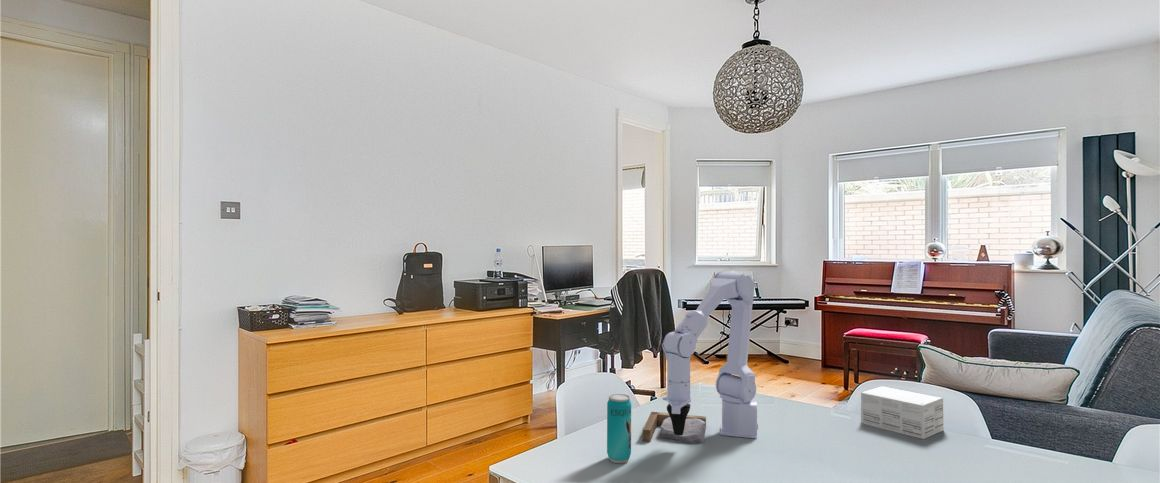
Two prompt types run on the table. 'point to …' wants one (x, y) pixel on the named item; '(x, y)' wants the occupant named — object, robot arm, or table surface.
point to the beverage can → (619, 428)
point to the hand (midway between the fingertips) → (678, 434)
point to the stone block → (685, 430)
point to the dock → (660, 423)
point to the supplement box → (902, 411)
